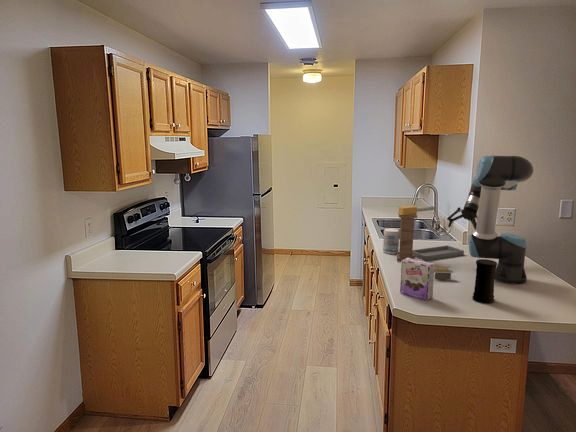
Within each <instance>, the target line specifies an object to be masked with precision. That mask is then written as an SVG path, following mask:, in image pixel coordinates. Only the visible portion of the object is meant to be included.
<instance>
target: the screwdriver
mask: <svg viewBox="0 0 576 432" xmlns="http://www.w3.org/2000/svg"><path fill="white" fill-rule="evenodd" d="M434 210H435V206H434V205H432V206H431V205H430V206H421V207H419V206H416V205H415V206H414V205H410V206H409V205H408V206H398V212H399V213H397V214H401V215H408V214H417V213H418V212H428V211H434ZM417 215H418V214H417Z"/></svg>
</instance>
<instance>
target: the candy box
mask: <svg viewBox="0 0 576 432" xmlns="http://www.w3.org/2000/svg"><path fill="white" fill-rule="evenodd" d="M400 268H401V269H400V270H401V271H400V290H399V293H400V292H401V293H400V294H402V293H404V294H403V295H405V294H407V295H406V296H409V295H410V296H409V297H412V296H414V297H413V298H415V297H417V299H419V298H420V299H419V300H422V299H423V301H426V300H427V301H429V300H431V299H432V298H433V297H434V295H433V292H434V280H435V273H434V269H436V264H435V263H433V262H428V261H424V260H421V259H416V258H415V259H411V258H406V259H403V260H402V262H401V267H400Z"/></svg>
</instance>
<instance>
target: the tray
mask: <svg viewBox="0 0 576 432" xmlns="http://www.w3.org/2000/svg"><path fill="white" fill-rule="evenodd" d="M412 255H414V258H416V257H417V258H416V259H418V260H421V259H422V260H421V261H424V262H428V261H437V260H440V259H441V260H442V259H448V258H455V257H461V256H464V255H465V250H463V249H459V248H458V247H454V246H451V245H448V244H447V245H440V246H434V247H433V246H432V247H425V248H418V249H417V248H416V249H413V251H412Z"/></svg>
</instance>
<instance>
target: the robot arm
mask: <svg viewBox="0 0 576 432" xmlns="http://www.w3.org/2000/svg"><path fill="white" fill-rule="evenodd" d="M533 173H534V166H533V164H532V163H531V162H530V160H528V159H527V158H525V157H522V156H519V155H484V156H481V157H480V159H479V160H478V163H477V166H476V170H475V176H474V178H473V179H472V183H471V186H470V188H469V189H470V190H469V193H468V195H467V198H466V201H465V203H464V206H463V208H461V207H459V206H458V207H457V208H456V210H455V211H453V213H452V214H450V215H449V216H447V218H446V220H447V221H448V224H447V227H448V230H447V233H448V234H450V233H451V231H452V229H453V226H454V224H455V221H457V220H459V219H462V218H463V219H464V220H467V221H470V222H471V224H472V226H473V230H472V233H471V234H469V235H468V237H467V240H468V241H467V242H468V252H469V255H470V256H471V257H472V258H477V259H489V260H492V259H493V260H498V262H497V266H496V269H495V272H496V273H495V280H496V281H498V282H501V283H504V284H510V285H523V284H526V283H527V280H528V277H527V274H526V273H527V272H526V268H525V261H526V259H525V258H526V249H527V240H526V238H525V237H523V236H520V235H517V234H514V233H505V232H504V233H502V232H501V234H500V235H499V236H498V233H497V232H496V223H497V218H498V211H499V205H500V199H501V198H500V197H501V191H516V190H517V187H518V184H519V183H521V182H526V181H528V180H529V179H530V178H531V177H532V175H533ZM458 213H461V214H460V215H458V216H455V215H457V214H458Z"/></svg>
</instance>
